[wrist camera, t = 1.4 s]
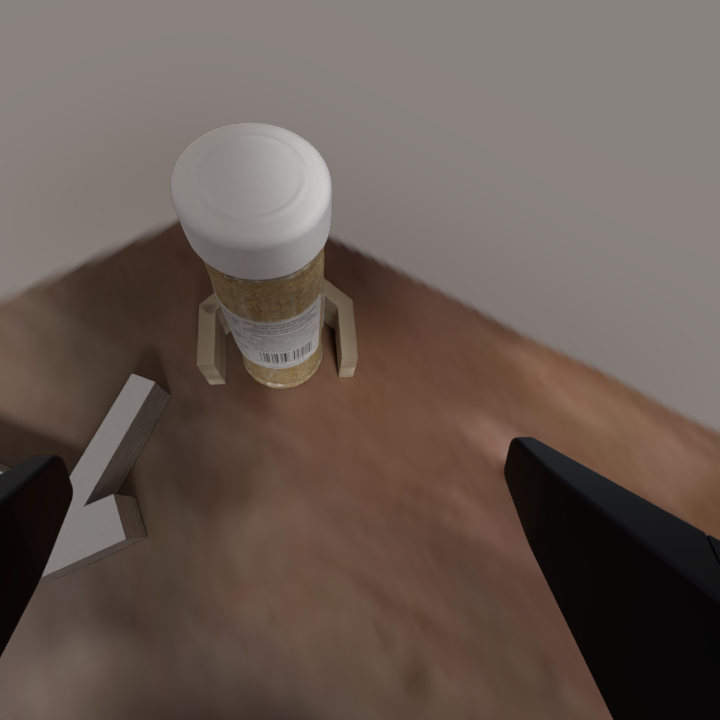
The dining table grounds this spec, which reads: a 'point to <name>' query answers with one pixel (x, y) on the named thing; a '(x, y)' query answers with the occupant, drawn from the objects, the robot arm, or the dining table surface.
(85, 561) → the V-block
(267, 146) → the sprinkles bottle
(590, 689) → the dining table surface
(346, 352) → the wooden collar
